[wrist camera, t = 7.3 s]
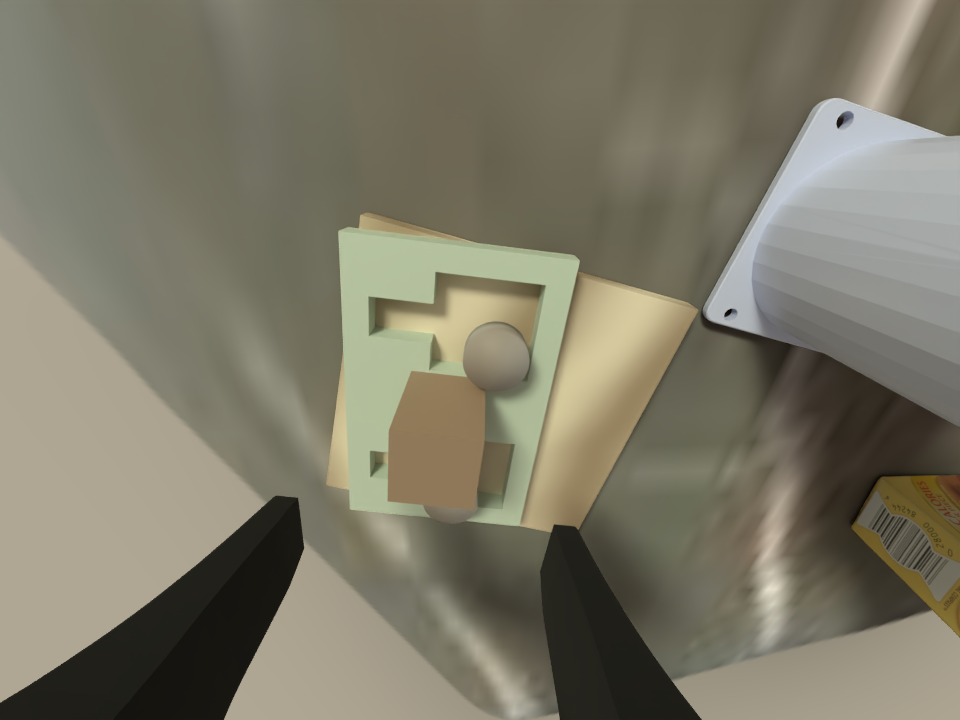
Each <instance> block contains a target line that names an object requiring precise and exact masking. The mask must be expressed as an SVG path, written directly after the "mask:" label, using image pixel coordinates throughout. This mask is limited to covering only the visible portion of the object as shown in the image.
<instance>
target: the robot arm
mask: <svg viewBox="0 0 960 720" xmlns="http://www.w3.org/2000/svg"><path fill="white" fill-rule="evenodd" d="M841 114H843V116H844V121H843V124H842V125H841V126H840V127H839V128H837V125H836V122H837V119H838V117H839V116H840V115H841ZM729 309H732V312H731V314H730V315H729V316H727V317H724V314H725V312H726V311H727V310H729ZM703 315H704V317H705V318H706V319H708V320H709V321H711V322H714V323H717V324H721V325H724V326H728V327H731V328H735V329H739V330H742V331H746V332H749V333H753V334H757V335H760V336H764V337H767V338H771V339H774V340H778V341H782V342H785V343H789V344H792V345H796V346H800V347H803V348H807V349H810V350H814V351H817V352H821V353H824V354H826V355H828V356H830V357H832V358H834V359H835V360H837V361H839V362H841V363H843V364H845V365H846V366H848V367H850V368H852V369H854V370H855V371H857V372H859V373H861V374H863V375H865V376H866V377H868V378H870V379H872V380H874V381H876V382H877V383H879V384H881V385H883V386H885V387H887V388H888V389H890V390H892V391H894V392H896V393H897V394H899V395H901V396H903V397H905V398H907V399H908V400H910V401H912V402H914V403H916V404H918V405H919V406H921V407H923V408H925V409H927V410H929V411H930V412H932V413H934V414H936V415H938V416H940V417H941V418H943V419H945V420H947V421H949V422H950V423H952V424H954V425H956V426H958V427H960V136H949V137H948V136H945V135H942V134H939V133H936V132H934V131H931V130H928V129H925V128H922V127H919V126H917V125H914V124H911V123H908V122H905V121H903V120H900V119H897V118H894V117H891V116H888V115H886V114H883V113H880V112H877V111H874V110H871V109H869V108H866V107H863V106H860V105H857V104H855V103H852V102H849V101H846V100H843V99H840V98H833V99H828V100H825V101H822V102H820V103H819V104H817V105H816V106H815V107H814V108H813V110H812V111H811V112H810V114H809V116H808V118H807V120H806V122H805V123H804V125H803V127H802V129H801V131H800V132H799V134H798V136H797V138H796V140H795V142H794V143H793V145H792V147H791V149H790V151H789V152H788V154H787V156H786V158H785V160H784V162H783V163H782V165H781V167H780V169H779V171H778V172H777V174H776V176H775V178H774V180H773V181H772V183H771V185H770V187H769V189H768V191H767V192H766V194H765V196H764V198H763V200H762V201H761V203H760V205H759V207H758V209H757V211H756V212H755V214H754V216H753V218H752V220H751V221H750V223H749V225H748V227H747V229H746V231H745V232H744V234H743V236H742V238H741V240H740V241H739V243H738V245H737V247H736V249H735V251H734V252H733V254H732V256H731V258H730V260H729V261H728V263H727V265H726V267H725V269H724V271H723V272H722V274H721V276H720V278H719V280H718V281H717V283H716V285H715V287H714V289H713V290H712V292H711V294H710V296H709V298H708V300H707V301H706V303H705V305H704V308H703ZM303 550H304V543H303V535H302V527H301V519H300V511H299V502H298V498H294V497H284V496H275V497H273V498H272V499H271V500H270V501H269V502H268V503H267V504H265V505H264V506H263V507H262V508H261V509H260V510H259V511H258V512H257V513H256V514H254V515H253V516H252V517H251V518H250V519H249V520H248V521H247V522H245V523H244V524H243V525H242V526H241V527H240V528H239V529H238V530H236V531H235V532H234V533H233V534H232V535H231V536H230V537H229V538H227V539H226V540H225V541H224V542H223V543H222V544H220V545H219V546H218V547H217V548H216V549H215V550H213V551H212V552H211V553H210V554H209V555H208V556H207V557H205V558H204V559H203V560H202V561H201V562H200V563H198V564H197V565H196V566H195V567H193V568H192V569H191V570H190V571H188V572H187V573H186V574H185V575H184V576H182V577H181V578H180V579H179V580H177V581H176V582H175V583H173V584H172V585H171V586H170V587H168V588H167V589H166V590H165V591H163V592H162V593H161V594H160V595H158V596H157V597H156V598H154V599H153V600H152V601H151V602H150V603H148V604H147V605H145V606H144V607H143V608H141V609H140V610H139V611H137V612H136V613H135V614H133V615H132V616H130V617H129V618H128V619H126V620H125V621H124V622H122V623H121V624H119V625H118V626H117V627H115V628H114V629H112V630H111V631H110V632H108V633H107V634H106V635H104V636H103V637H101V638H100V639H98V640H97V641H95V642H94V643H93V644H91V645H89V646H88V647H87V648H85V649H83V650H82V651H80V652H79V653H78V654H76V655H75V656H73V657H72V658H70V659H69V660H67V661H66V662H64V663H63V664H61V665H60V666H58V667H57V668H55V669H54V670H52V671H50V672H49V673H47V674H46V675H44V676H43V677H41V678H40V679H38V680H37V681H35V682H33V683H32V684H30V685H29V686H27V687H25V688H24V689H22V690H21V691H19V692H18V693H16V694H14V695H12V696H11V697H9V698H7V699H6V700H4V701H2V702H1V703H0V720H224V718H225V716H226V713H227V711H228V708H229V706H230V704H231V702H232V700H233V697H234V695H235V693H236V691H237V689H238V687H239V685H240V683H241V681H242V679H243V677H244V675H245V673H246V671H247V668H248V667H249V665H250V663H251V661H252V659H253V657H254V655H255V653H256V651H257V649H258V647H259V645H260V644H261V642H262V640H263V638H264V635H265V634H266V632H267V630H268V628H269V626H270V624H271V622H272V620H273V618H274V616H275V614H276V612H277V610H278V608H279V606H280V604H281V602H282V600H283V598H284V596H285V594H286V592H287V590H288V588H289V586H290V584H291V581H292V578H293V576H294V574H295V571H296V569H297V566H298V563H299V560H300V558H301V555H302V552H303ZM540 573H541V592H542V607H543V616H544V622H545V629H546V635H547V641H548V647H549V653H550V660H551V666H552V672H553V678H554V684H555V690H556V696H557V702H558V709H559V716H560V720H702V719H701V718H700V717H699V716H698V714H697V713H696V712H695V711H694V709H693V708H692V707H691V705H690V704H689V703H688V702H687V700H686V699H685V698H684V696H683V695H682V694H681V693H680V691H679V690H678V689H677V687H676V686H675V685H674V683H673V682H672V681H671V679H670V678H669V677H668V675H667V674H666V673H665V671H664V670H663V668H662V667H661V666H660V664H659V663H658V661H657V660H656V659H655V657H654V656H653V654H652V653H651V651H650V650H649V649H648V647H647V646H646V644H645V643H644V641H643V640H642V638H641V637H640V635H639V634H638V632H637V631H636V629H635V628H634V626H633V625H632V623H631V622H630V620H629V618H628V617H627V615H626V614H625V612H624V611H623V609H622V607H621V606H620V604H619V602H618V601H617V599H616V597H615V596H614V594H613V592H612V591H611V589H610V588H609V586H608V584H607V582H606V581H605V579H604V577H603V576H602V574H601V572H600V570H599V568H598V567H597V565H596V563H595V561H594V559H593V558H592V556H591V554H590V552H589V550H588V548H587V546H586V545H585V543H584V541H583V539H582V537H581V535H580V533H579V531H578V529H577V528H576V527H575V526H567V525H557V524H554V525H553V529H552V532H551V536H550V539H549V543H548V546H547V550H546V553H545V557H544V560H543V564H542V568H541V571H540Z"/></svg>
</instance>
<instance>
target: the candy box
mask: <svg viewBox="0 0 960 720" xmlns="http://www.w3.org/2000/svg"><path fill="white" fill-rule="evenodd" d="M851 528H852V529H853V531H854V532H855V533H856V534H857V535H858V536H859V537H860V538H861V539H862V540H863V541H864V542H865V543H866V544H867V545H868V546H869V547H870V548H871V549H872V550H873V551H874V552H875V553H876V554H877V555H878V556H879V557H880V558H881V559H882V560H883V561H885V562H886V564H887V565H888V566H889V567H890V568H891V569H892V570H893V571H894V572H895V573H896V574H897V575H898V576H899V577H900V578H901V579H903V580H904V581H905V583H906V584H907V585H908V586H909V587H910V588H911V589H912V590H913V591H914V592H915V593H916V594H917V595H918V596H919V597H920V598H921V599H922V600H923V601H924V602H925V603H926V604H927V605H928V606H929V607H930V608H931V609H932V610H933V611H934V612H935V613H936V614H937V615H938V616H939V617H940V618H941V619H942V620H943V621H944V622H945V623H946V624H947V625H948V626H949V627H950V628H951V629H952V630H953V631H954V632H955V633H956V634H957V635H958V636H959V637H960V475H930V476H928V475H920V476H894V477H881V478H880V479H879V480H878V481H877V483H876V484H875V486H874V488H873V490H872V492H871V493H870V495H869V497H868V498H867V500H866V501H865V503H864V505H863V507H862V509H861V510H860V512H859V514H858V516H857V518H856V520H855V522H854V523H853V525H852V526H851Z"/></svg>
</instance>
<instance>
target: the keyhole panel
mask: <svg viewBox="0 0 960 720" xmlns="http://www.w3.org/2000/svg"><path fill="white" fill-rule="evenodd" d="M338 232H339V256H340V279H341V303H342V327H343V351H344V375H345V399H346V423H347V447H348V471H349V495H350V510H360V511H370V512H381V513H391V514H401V515H411V516H421V517H430V516H429V515H428V514H427V513H426V511H425V509H424V507H423V505H428V506H438V507H448V508H458V509H468V510H474V508H475V501H476V495H477V488H478V482H479V475H480V468H481V462H482V455H483V449H484V442H485V441H488V442H498V443H507V444H511V448H510V453H509V458H508V463H507V469H506V474H505V479H504V484H503V490H502V494H493V493H483V492H478V505H477V510H476V512H475V514H474V515H473V516H472V517H471V518H469V519H468V520H466V521H472V522H482V523H492V524H502V525H512V526H519V525H520V521H521V517H522V512H523V508H524V503H525V499H526V495H527V490H528V486H529V482H530V477H531V473H532V468H533V464H534V460H535V455H536V451H537V447H538V442H539V438H540V433H541V429H542V425H543V420H544V416H545V411H546V407H547V403H548V398H549V394H550V390H551V385H552V381H553V376H554V372H555V368H556V363H557V359H558V355H559V350H560V346H561V341H562V337H563V333H564V328H565V324H566V320H567V315H568V311H569V306H570V302H571V298H572V293H573V289H574V284H575V280H576V276H577V271H578V267H579V263H580V260H579V259H578V258H577V257H576V256H575V255H569V254H561V253H553V252H545V251H537V250H529V249H521V248H513V247H504V246H496V245H488V244H480V243H472V242H464V241H456V240H448V239H440V238H432V237H424V236H416V235H408V234H399V233H391V232H383V231H375V230H367V229H359V228H351V227H347V228H345V229H342V230H340V231H338ZM438 272H441V273H449V274H457V275H465V276H474V277H482V278H490V279H499V280H507V281H515V282H523V283H532V284H540V285H541V290H540V295H539V301H538V306H537V311H536V316H535V322H534V327H533V332H532V337H531V343H530V348H529V359H530V363H529V369H528V372H527V374H526V376H525V377H524V378H523V380H522V381H521V382H520V383H519V384H517V385H516V386H514V387H512V388H510V389H508V390H504V391H488V390H484V389H482V388H479V387H478V386H476V385H475V384H473V383H472V382H471V381H470V380H469V378H468V377H467V375H466V374H465V371H464V368H463V363H458V362H449V361H441V360H432V355H433V340H434V333H425V332H416V331H408V330H399V329H390V328H382V327H376V324H375V297H378V298H387V299H395V300H404V301H412V302H421V303H429V304H434V301H435V299H436V296H437V283H438ZM376 451H378V452H388V464H379V463H376ZM431 518H432V517H431Z"/></svg>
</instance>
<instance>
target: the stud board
mask: <svg viewBox="0 0 960 720" xmlns="http://www.w3.org/2000/svg"><path fill="white" fill-rule="evenodd" d="M359 229H367V230H375V231H383V232H391V233H399V234H408V235H416V236H424V237H432V238H440V239H448V240H456V241H464V242H472V241H468V240H465V239H461V238H458V237H454V236H451V235H447V234H443V233H440V232H436V231H433V230H429V229H426V228H422V227H419V226H415V225H412V224H408V223H405V222H401V221H397V220H394V219H390V218H387V217H383V216H380V215H376V214H373V213H369V212H368V213H365V214H362V215H361V216H360V224H359ZM472 243H475V242H472ZM540 290H541V285H540V284H532V283H523V282H515V281H507V280H499V279H490V278H482V277H474V276H465V275H457V274H449V273H441V272H438V283H437V296H436V299H435V301H434V304H429V303H421V302H412V301H404V300H395V299H387V298H378V297H375V324H376V327H382V328H390V329H399V330H408V331H416V332H425V333H434V340H433V355H432V360H441V361H449V362H458V363H463V368H464V371H465V374H466V375H467V377H468V378H469V380H470V381H471V382H472V383H473V384H475V385H476V386H478V387H479V388H482V389H484V390H488V391H504V390H508V389H510V388H512V387H514V386H516V385H517V384H519V383H520V382H521V381H522V380H523V378H524V377H525V376H526V374H527V372H528V369H529V363H530V359H529V348H530V343H531V337H532V332H533V327H534V322H535V316H536V311H537V306H538V301H539V295H540ZM697 312H698V309H696V308H695V307H693V306H692V305H690V304H689V303H687V302H684V301H681V300H677V299H674V298H670V297H666V296H663V295H659V294H656V293H652V292H649V291H645V290H642V289H638V288H635V287H631V286H628V285H624V284H620V283H617V282H613V281H610V280H606V279H603V278H599V277H596V276H592V275H589V274H585V273H582V272H578V271H577V276H576V280H575V284H574V289H573V293H572V298H571V302H570V306H569V311H568V315H567V320H566V324H565V328H564V333H563V337H562V341H561V346H560V350H559V355H558V359H557V363H556V368H555V372H554V376H553V381H552V385H551V390H550V394H549V398H548V403H547V407H546V411H545V416H544V420H543V425H542V429H541V433H540V438H539V442H538V447H537V451H536V455H535V460H534V464H533V468H532V473H531V477H530V482H529V486H528V490H527V495H526V499H525V503H524V508H523V512H522V517H521V521H520V525H519V526H523V527H528V528H533V529H537V530H542V531H547V532H552V529H553V525H554V524H557V525H567V526H575V527H576V528H577V529H578V530H579V528H580V526H581V524H582V522H583V521H584V519H585V517H586V515H587V513H588V511H589V510H590V508H591V506H592V504H593V502H594V500H595V499H596V497H597V495H598V493H599V491H600V489H601V488H602V486H603V484H604V482H605V480H606V478H607V477H608V475H609V473H610V471H611V469H612V467H613V466H614V464H615V462H616V460H617V458H618V456H619V455H620V453H621V451H622V449H623V447H624V446H625V444H626V442H627V440H628V438H629V436H630V435H631V433H632V431H633V429H634V427H635V425H636V424H637V422H638V420H639V418H640V416H641V414H642V413H643V411H644V409H645V407H646V405H647V403H648V402H649V400H650V398H651V396H652V394H653V392H654V391H655V389H656V387H657V385H658V383H659V381H660V380H661V378H662V376H663V374H664V372H665V371H666V369H667V367H668V365H669V363H670V361H671V360H672V358H673V356H674V354H675V352H676V350H677V349H678V347H679V345H680V343H681V341H682V339H683V338H684V336H685V334H686V332H687V330H688V328H689V327H690V325H691V323H692V321H693V319H694V317H695V316H696V314H697ZM510 448H511V444H507V443H498V442H488V441H485V442H484V449H483V455H482V462H481V468H480V475H479V482H478V488H477V495H476V501H475V508H474V510H468V509H458V508H448V507H438V506H428V505H423V507H424V509H425V511H426V513H427V514H428V515H429V516H430V517H432V518H433V519H435V520H437V521H439V522H443V523H449V524H455V523H461V522H464V521H466V520H468V519H469V518H471V517H472V516H473V515H474V514H475V512H476V510H477V505H478V492H483V493H493V494H502V490H503V484H504V479H505V474H506V469H507V463H508V458H509V453H510ZM376 463H379V464H388V452H378V451H376ZM326 485H328V486H333V487H338V488H342V489H347V490H349V471H348V447H347V423H346V399H345V375H344V351H343V357H342V365H341V373H340V381H339V389H338V397H337V405H336V412H335V420H334V428H333V436H332V444H331V452H330V460H329V468H328V475H327V483H326Z"/></svg>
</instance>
